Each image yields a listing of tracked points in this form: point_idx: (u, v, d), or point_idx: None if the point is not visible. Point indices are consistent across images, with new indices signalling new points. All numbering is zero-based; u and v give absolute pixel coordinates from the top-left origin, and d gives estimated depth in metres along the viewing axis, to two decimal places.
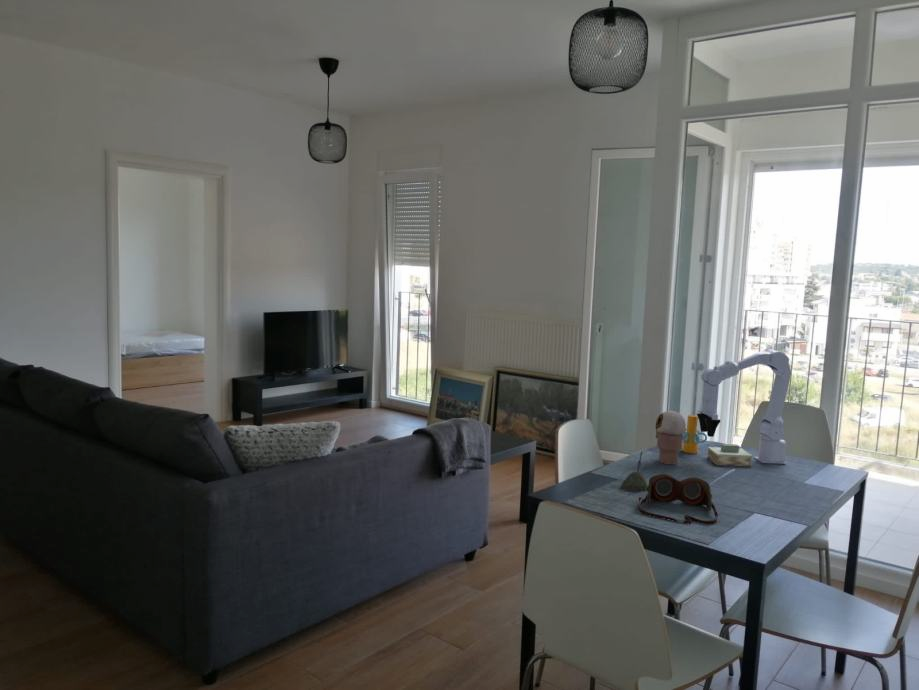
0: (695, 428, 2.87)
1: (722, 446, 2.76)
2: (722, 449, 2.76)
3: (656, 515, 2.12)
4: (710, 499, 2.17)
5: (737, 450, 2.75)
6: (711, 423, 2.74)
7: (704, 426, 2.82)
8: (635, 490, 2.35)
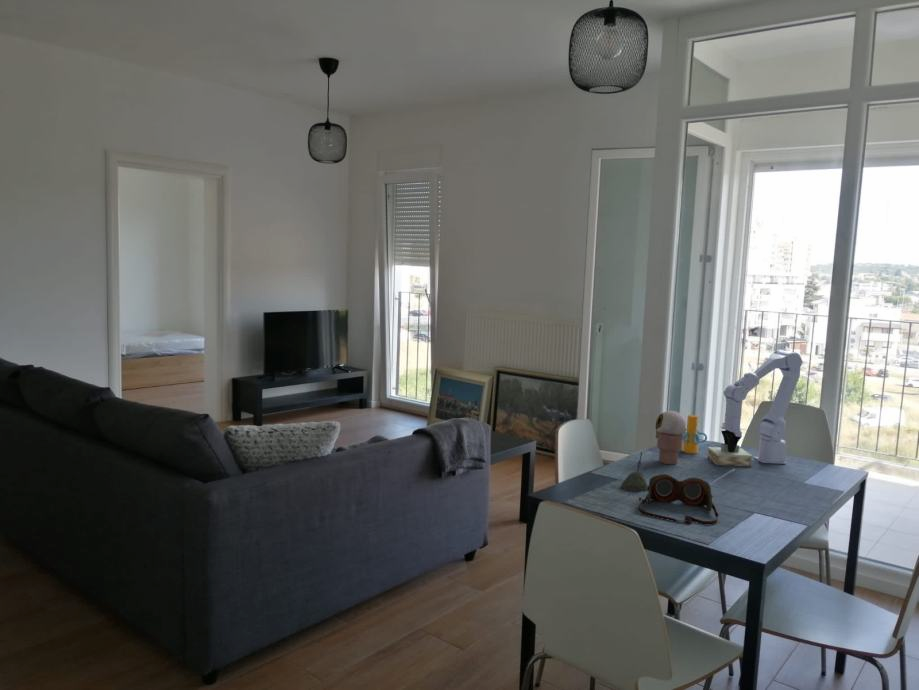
0: (695, 428, 2.87)
1: (722, 446, 2.76)
2: (722, 449, 2.76)
3: (656, 515, 2.11)
4: (710, 499, 2.17)
5: (737, 450, 2.75)
6: (732, 438, 2.74)
7: None
8: (635, 490, 2.35)
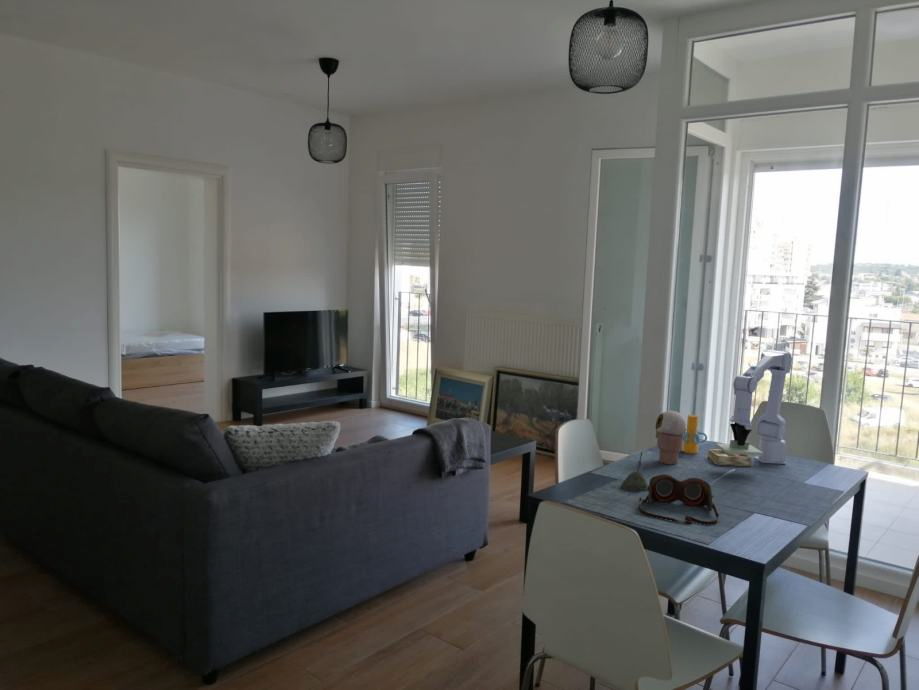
0: (695, 428, 2.87)
1: (731, 442, 2.63)
2: (731, 445, 2.63)
3: (657, 516, 2.11)
4: (711, 500, 2.16)
5: (747, 447, 2.62)
6: (742, 431, 2.60)
7: None
8: (635, 490, 2.35)
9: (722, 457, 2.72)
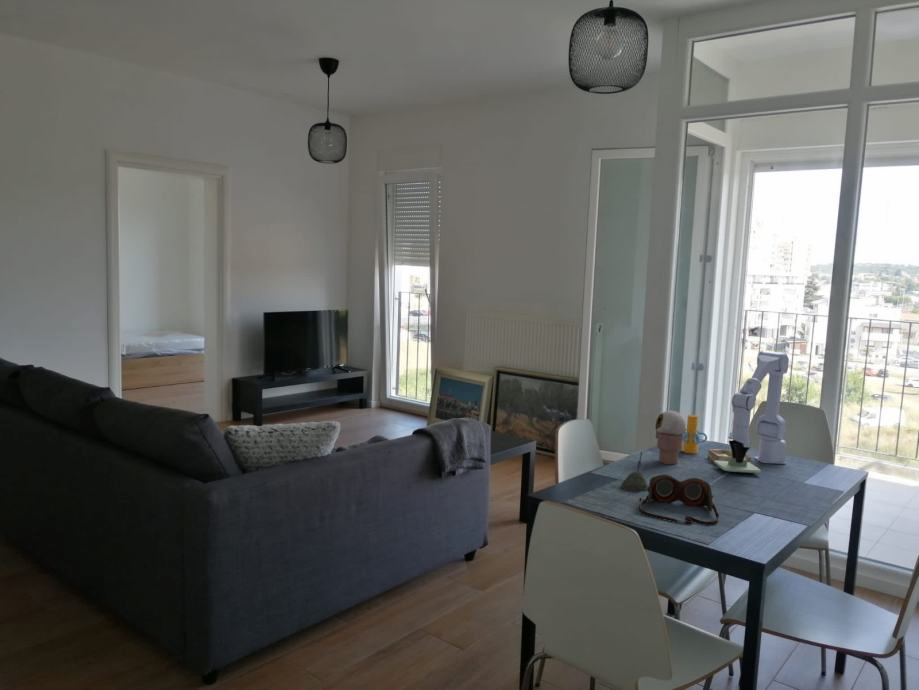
0: (695, 428, 2.87)
1: (729, 460, 2.64)
2: (729, 463, 2.64)
3: (657, 516, 2.11)
4: (711, 500, 2.16)
5: (745, 464, 2.63)
6: (740, 449, 2.61)
7: None
8: (635, 490, 2.35)
9: (722, 457, 2.72)
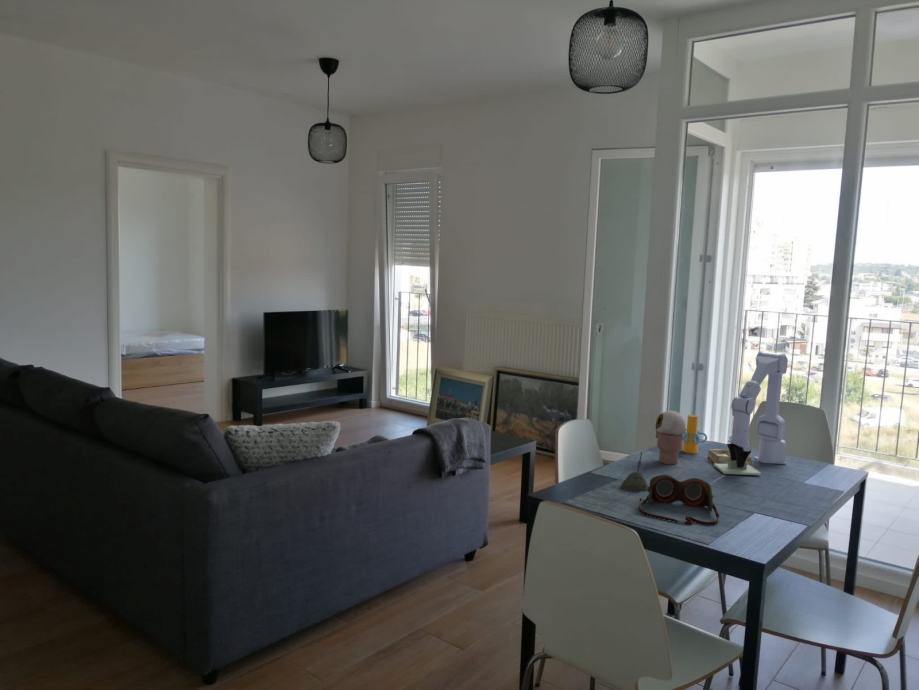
0: (695, 428, 2.87)
1: (729, 463, 2.64)
2: (729, 466, 2.64)
3: (657, 516, 2.11)
4: (711, 500, 2.16)
5: (745, 467, 2.63)
6: (741, 453, 2.60)
7: (735, 458, 2.66)
8: (635, 490, 2.35)
9: (722, 457, 2.72)
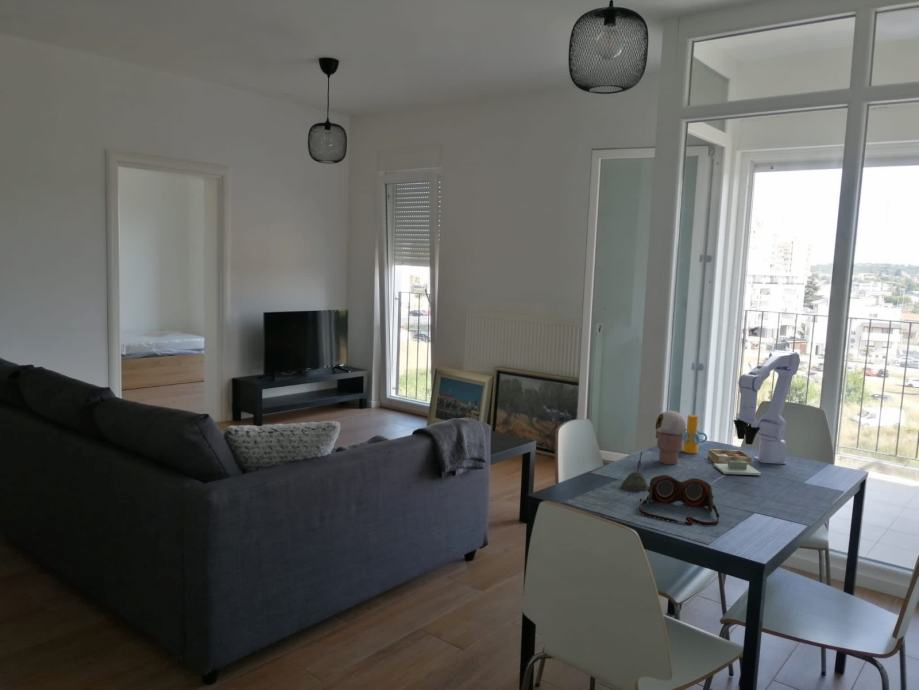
0: (695, 428, 2.87)
1: (729, 463, 2.64)
2: (729, 466, 2.64)
3: (657, 516, 2.11)
4: (711, 500, 2.16)
5: (745, 467, 2.63)
6: (750, 430, 2.63)
7: (741, 433, 2.72)
8: (635, 490, 2.35)
9: (722, 457, 2.72)
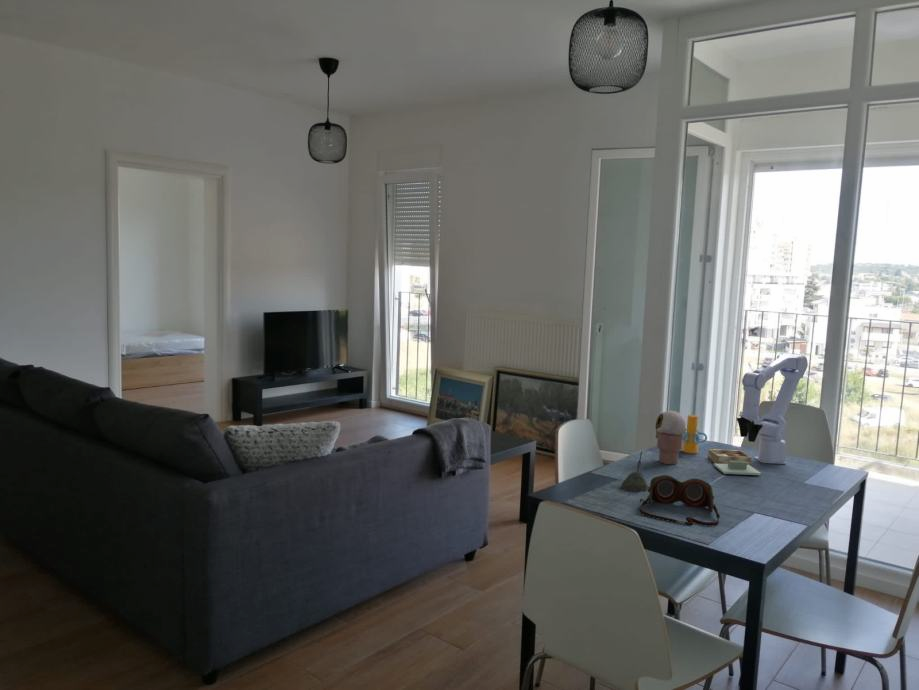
0: (695, 428, 2.87)
1: (729, 463, 2.64)
2: (729, 466, 2.64)
3: (657, 516, 2.10)
4: (712, 500, 2.16)
5: (745, 467, 2.63)
6: (753, 428, 2.67)
7: (744, 431, 2.75)
8: (635, 490, 2.35)
9: (722, 457, 2.72)
